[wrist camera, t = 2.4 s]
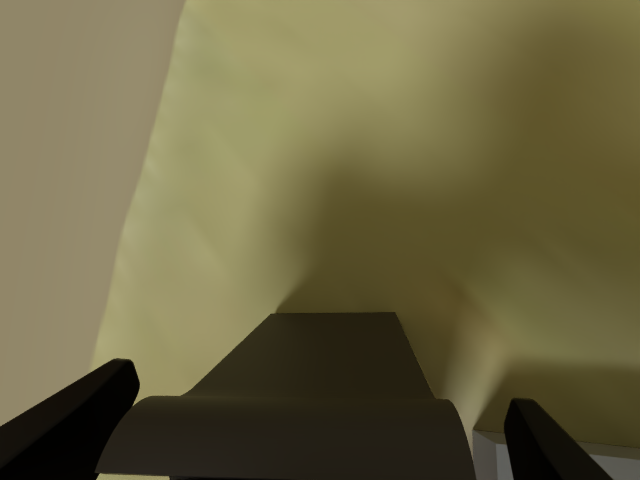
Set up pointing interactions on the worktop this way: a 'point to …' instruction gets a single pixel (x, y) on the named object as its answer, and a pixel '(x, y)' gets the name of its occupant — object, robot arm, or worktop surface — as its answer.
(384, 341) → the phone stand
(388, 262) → the worktop surface
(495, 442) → the tray
